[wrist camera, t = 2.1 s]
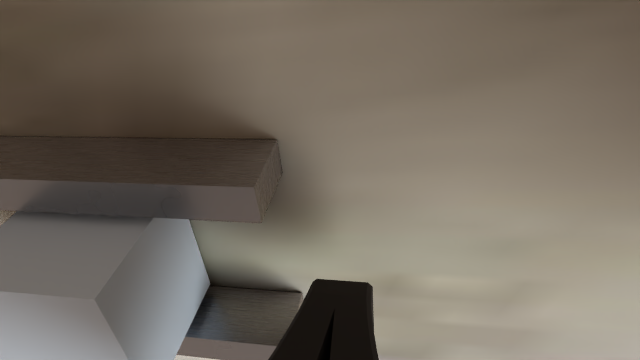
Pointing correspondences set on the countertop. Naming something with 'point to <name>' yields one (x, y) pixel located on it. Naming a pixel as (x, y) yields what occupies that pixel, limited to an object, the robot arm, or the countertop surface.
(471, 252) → the countertop surface
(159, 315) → the block
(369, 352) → the robot arm
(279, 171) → the grey flat bars
